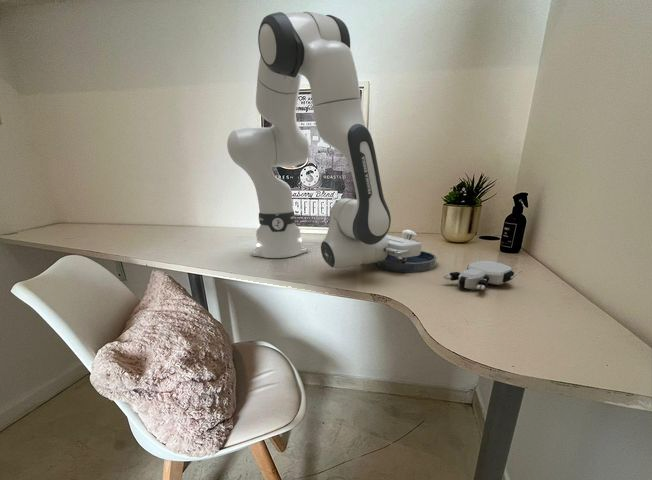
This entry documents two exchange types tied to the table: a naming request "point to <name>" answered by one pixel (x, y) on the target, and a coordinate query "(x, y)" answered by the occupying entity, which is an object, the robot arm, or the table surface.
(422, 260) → the blue round tray
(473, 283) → the robot toy
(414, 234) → the salt shaker
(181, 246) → the table surface
